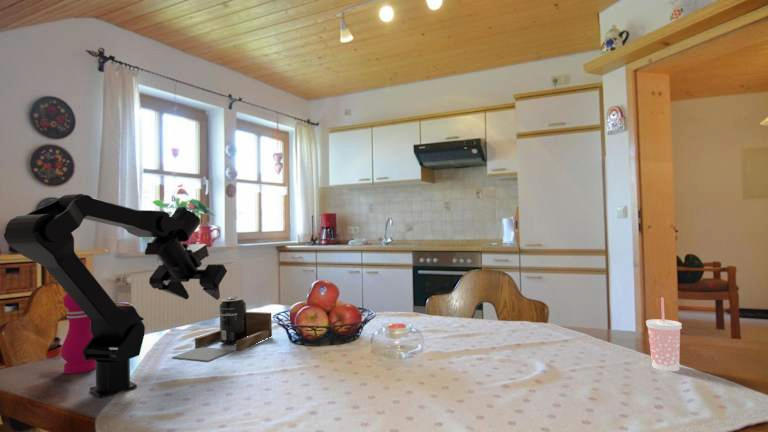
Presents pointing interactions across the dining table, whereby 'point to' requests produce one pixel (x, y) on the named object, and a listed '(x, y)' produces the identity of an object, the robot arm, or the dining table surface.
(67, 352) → the pepper mill
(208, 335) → the shelf lane
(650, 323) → the beverage cup
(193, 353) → the mat
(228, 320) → the beverage can
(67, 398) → the dining table surface
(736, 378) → the dining table surface
